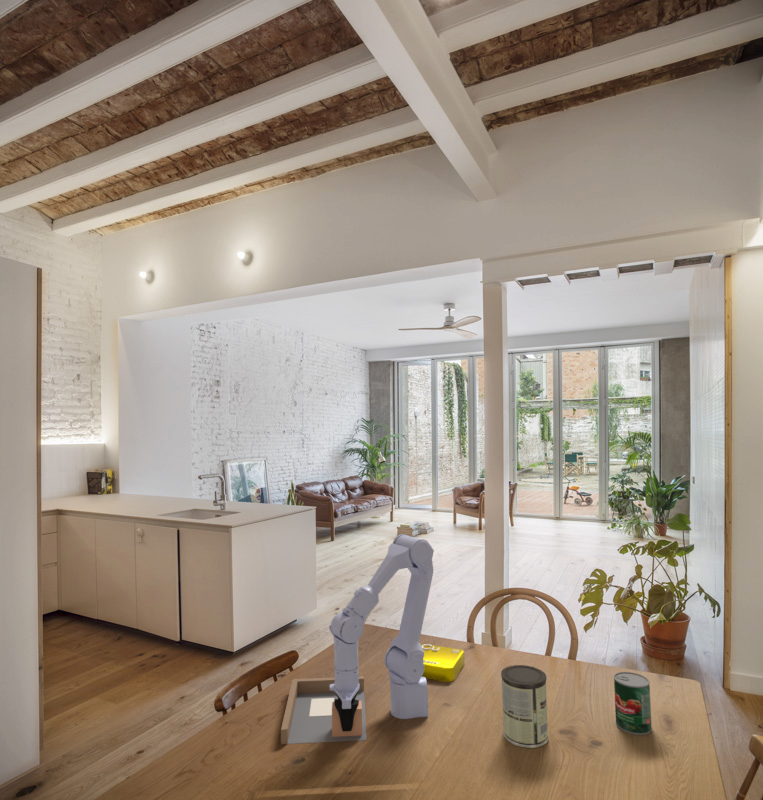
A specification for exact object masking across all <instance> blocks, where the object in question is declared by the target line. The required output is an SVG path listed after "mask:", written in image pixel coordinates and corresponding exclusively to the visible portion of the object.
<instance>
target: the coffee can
mask: <svg viewBox="0 0 763 800" xmlns="http://www.w3.org/2000/svg"><path fill="white" fill-rule="evenodd" d="M500 676H501V689H502V690H501V691H502V718H503V719H502V720H503V737H504V738H505V740H506V741H508V742H509V744H512V745H514V746H517V747H520V748H524V749H525V748H526V749H536V748H540V747H543V746H545V745H546V744H547V743H548V742H549V729H548V727H549V725H548V708H547V707H548V705H547V704H548V701H547V700H548V699H547V698H548V697H547V675H546V673H545V672H544V671H543V670H542V669H539V668H537V667H534V666H531V665H525V664H524V665H523V664H516V665H509V666H506V667H504V668H503V669H502V670H501V671H500Z"/></svg>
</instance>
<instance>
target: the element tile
mask: <svg viewBox="0 0 763 800" xmlns="http://www.w3.org/2000/svg"><path fill="white" fill-rule="evenodd" d="M420 644H421V646H422V649H423V651H424V658H423V662H424V672H423V675H422V677H426V678H428V679H427V680H431V679H433V680H432V681H437V680H438V681H439V682H442V681H443V682H442V683H451V682H453V681H455V680H456V678H457V677H458V675H459V674H460V672H461V670H463V668H464V666H465V651H464V650H463V649H462V648H453V647H447V646H442V645H434V644H429V643H420Z"/></svg>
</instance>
